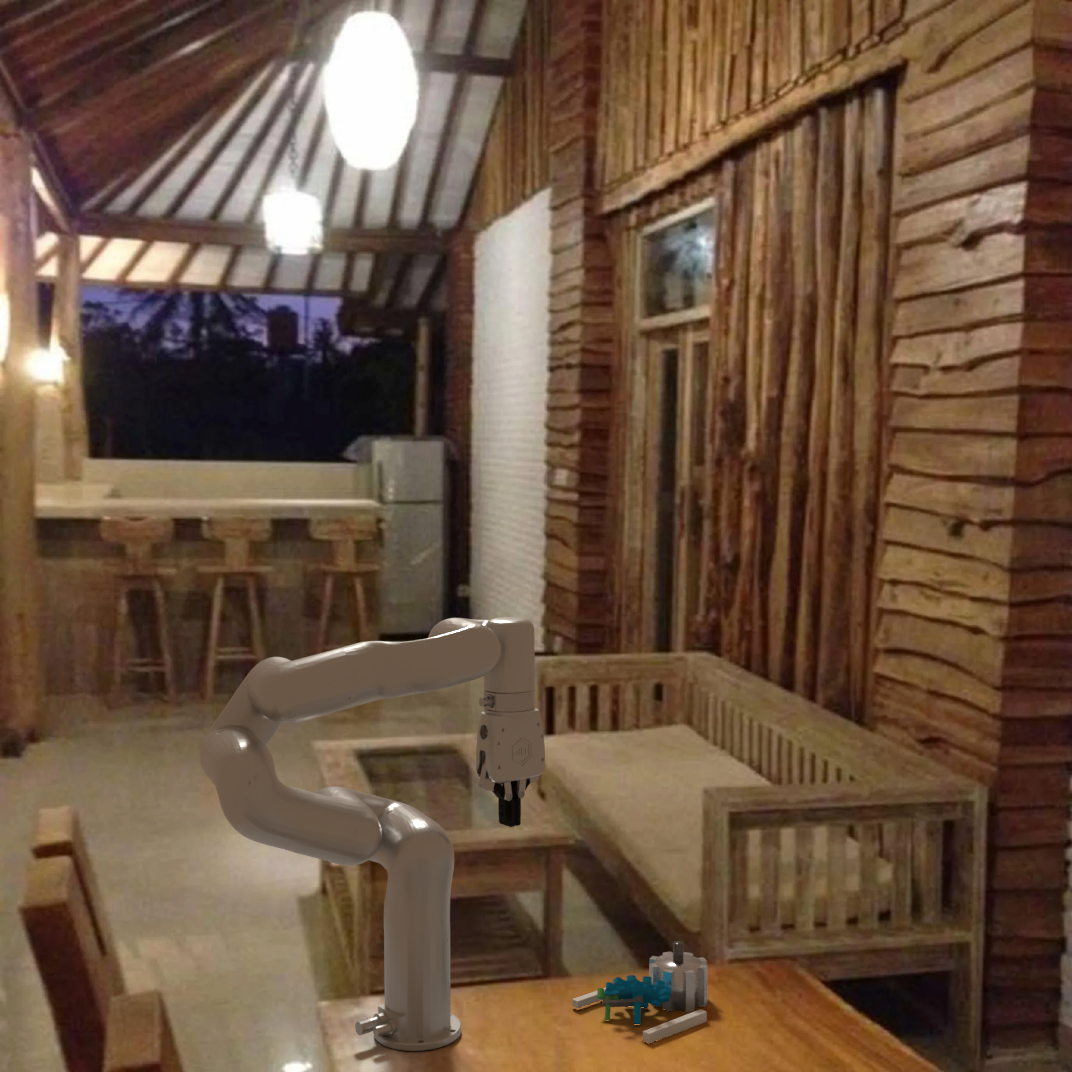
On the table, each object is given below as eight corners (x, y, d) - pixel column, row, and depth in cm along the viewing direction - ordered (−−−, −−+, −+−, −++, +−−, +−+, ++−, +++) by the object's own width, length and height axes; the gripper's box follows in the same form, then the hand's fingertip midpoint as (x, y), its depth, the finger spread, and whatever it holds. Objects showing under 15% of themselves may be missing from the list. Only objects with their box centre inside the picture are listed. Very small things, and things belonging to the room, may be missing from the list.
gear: (677, 998, 201) (664, 969, 194) (677, 1036, 197) (663, 1008, 190) (606, 1001, 203) (590, 972, 196) (604, 1039, 199) (588, 1011, 192)
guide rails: (648, 1044, 188) (648, 1033, 188) (572, 1008, 201) (572, 998, 201) (706, 1021, 196) (706, 1011, 196) (629, 988, 208) (629, 979, 208)
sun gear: (678, 1017, 198) (679, 957, 197) (637, 999, 204) (637, 941, 204) (719, 1001, 203) (719, 944, 203) (677, 984, 210) (677, 928, 210)
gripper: (484, 711, 188) (485, 838, 189) (564, 699, 198) (564, 821, 198) (453, 704, 194) (454, 828, 195) (531, 693, 203) (532, 811, 204)
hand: (509, 824), depth 196 cm, fingers closed
